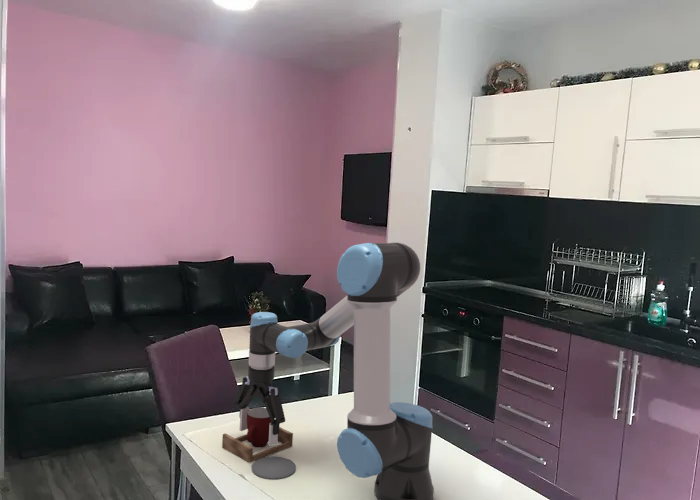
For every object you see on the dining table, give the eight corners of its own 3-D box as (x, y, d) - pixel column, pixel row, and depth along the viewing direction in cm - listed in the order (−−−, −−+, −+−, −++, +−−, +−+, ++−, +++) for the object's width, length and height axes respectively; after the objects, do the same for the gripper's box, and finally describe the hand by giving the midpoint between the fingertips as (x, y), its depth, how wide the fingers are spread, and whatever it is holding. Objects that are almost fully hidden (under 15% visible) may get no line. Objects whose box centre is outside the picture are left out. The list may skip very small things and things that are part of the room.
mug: (263, 457, 162) (265, 423, 161) (237, 452, 164) (238, 418, 163) (277, 441, 172) (278, 409, 171) (252, 437, 174) (253, 405, 173)
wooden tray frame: (292, 446, 170) (292, 433, 170) (249, 463, 158) (250, 449, 158) (264, 432, 178) (265, 420, 178) (222, 447, 166) (222, 434, 166)
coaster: (305, 469, 156) (305, 467, 156) (271, 484, 147) (271, 482, 147) (275, 454, 164) (276, 452, 164) (242, 467, 155) (242, 465, 155)
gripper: (300, 374, 160) (296, 447, 163) (245, 353, 177) (242, 420, 179) (280, 379, 155) (276, 455, 157) (225, 358, 171) (222, 426, 173)
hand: (258, 436), depth 168 cm, fingers open, 12 cm apart
